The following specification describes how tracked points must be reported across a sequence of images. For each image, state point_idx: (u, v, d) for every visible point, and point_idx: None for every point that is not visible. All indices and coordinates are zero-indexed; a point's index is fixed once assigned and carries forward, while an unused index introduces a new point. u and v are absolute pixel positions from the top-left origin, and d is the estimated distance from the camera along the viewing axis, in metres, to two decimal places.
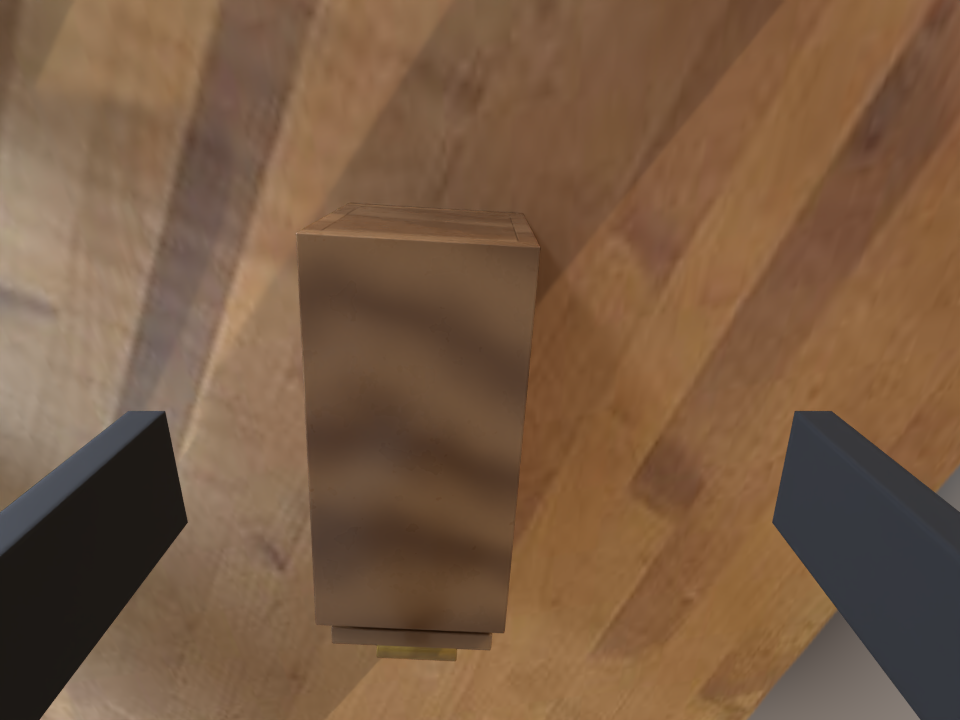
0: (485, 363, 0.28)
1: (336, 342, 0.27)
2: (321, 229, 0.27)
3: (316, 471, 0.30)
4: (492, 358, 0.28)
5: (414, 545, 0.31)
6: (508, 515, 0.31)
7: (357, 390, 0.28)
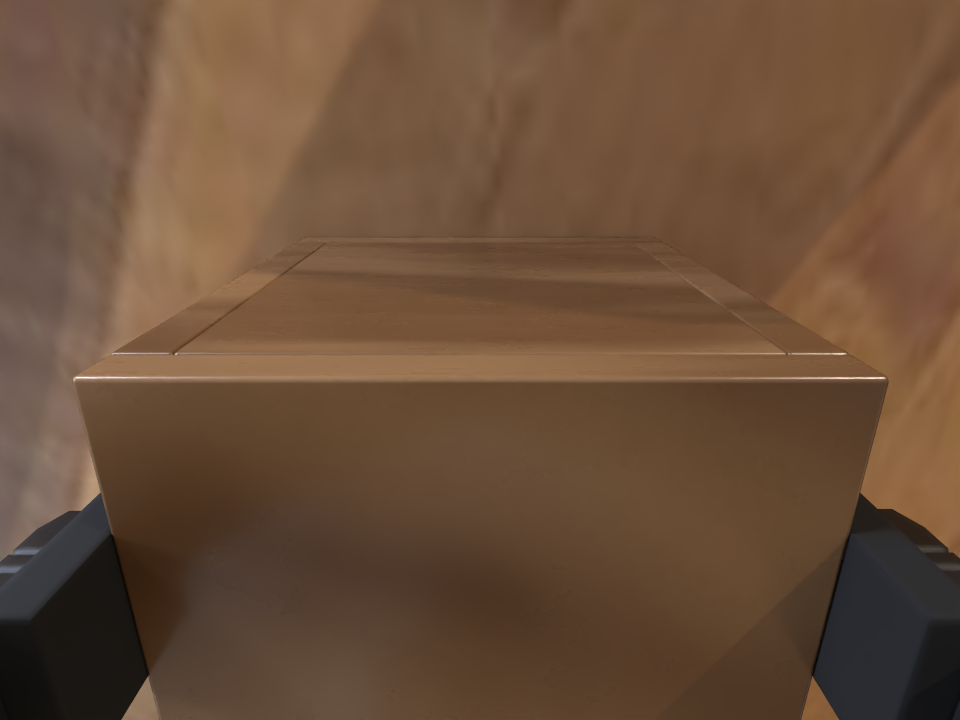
0: (681, 697, 0.10)
1: (247, 667, 0.09)
2: (174, 348, 0.09)
3: None
4: (702, 685, 0.10)
5: None
6: None
7: None
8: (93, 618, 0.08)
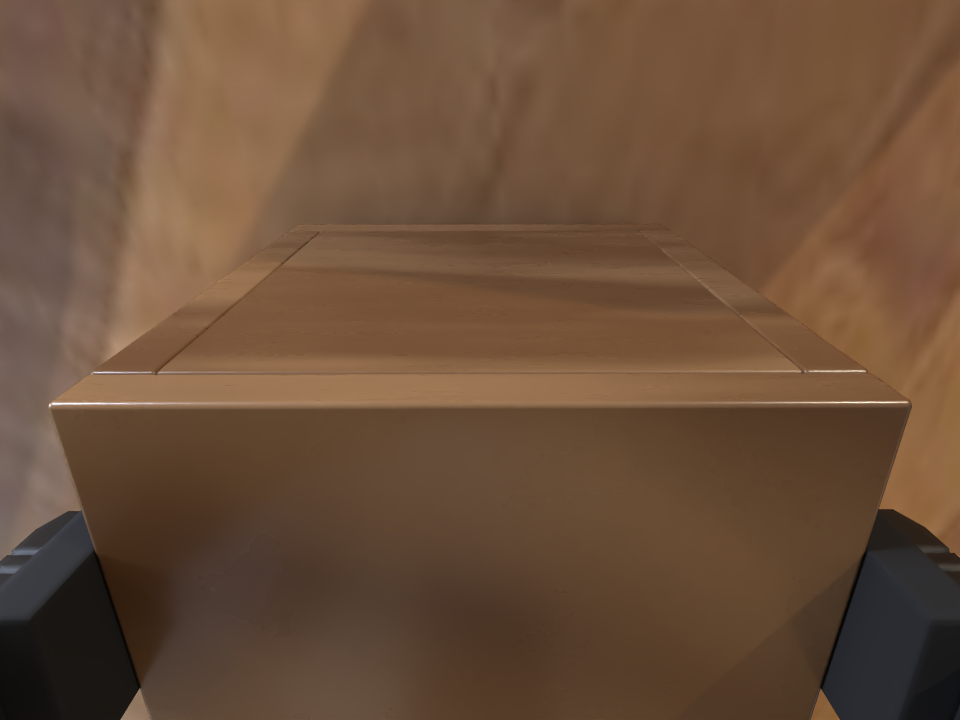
0: (684, 713, 0.09)
1: (244, 688, 0.09)
2: (157, 366, 0.08)
3: None
4: (706, 702, 0.09)
5: None
6: None
7: None
8: (92, 618, 0.08)
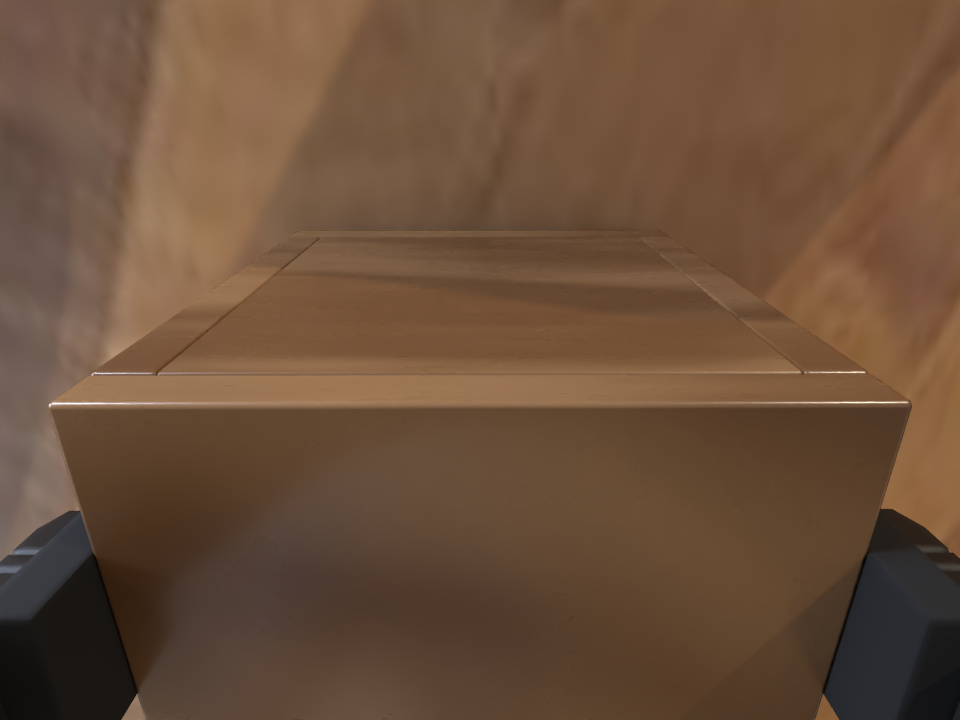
0: (686, 719, 0.09)
1: (241, 693, 0.09)
2: (157, 367, 0.08)
3: None
4: (708, 707, 0.09)
5: None
6: None
7: None
8: (93, 618, 0.08)
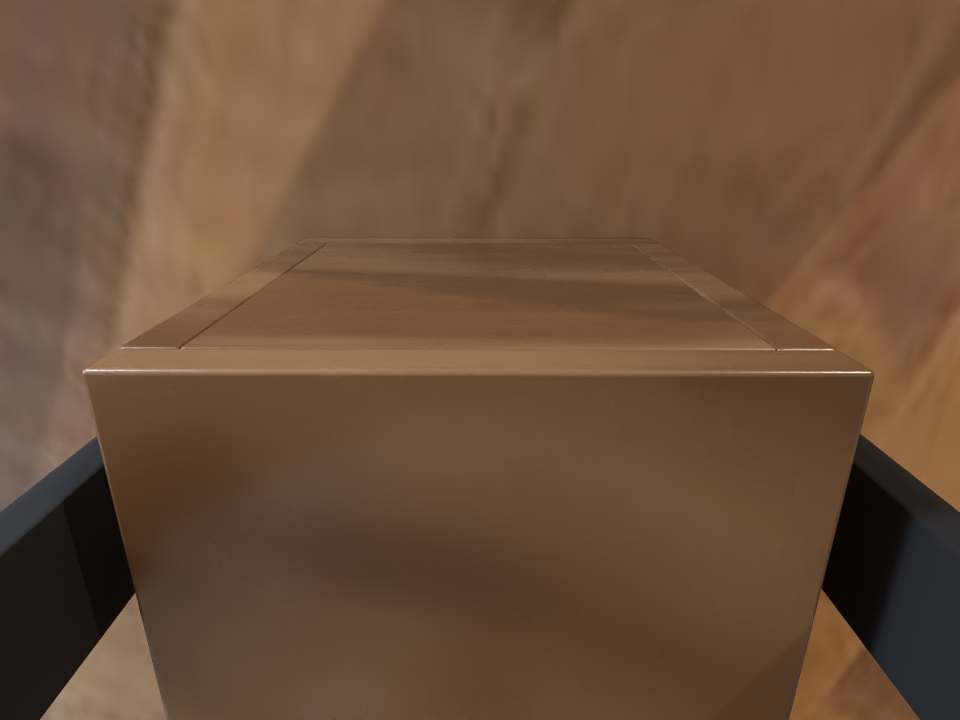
0: (674, 685, 0.10)
1: (250, 656, 0.10)
2: (180, 342, 0.09)
3: None
4: (695, 673, 0.10)
5: None
6: None
7: None
8: None
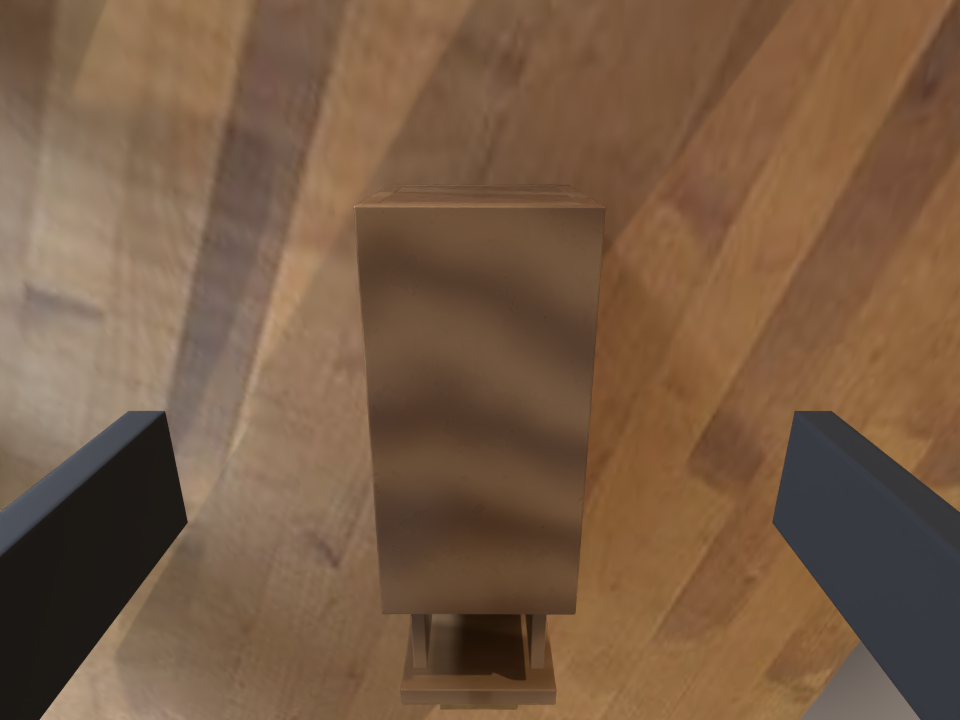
0: (550, 332, 0.27)
1: (397, 319, 0.27)
2: (377, 202, 0.26)
3: (379, 454, 0.29)
4: (558, 327, 0.27)
5: (481, 527, 0.31)
6: (577, 491, 0.30)
7: (420, 367, 0.28)
8: None
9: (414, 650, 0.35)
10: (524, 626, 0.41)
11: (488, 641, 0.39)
